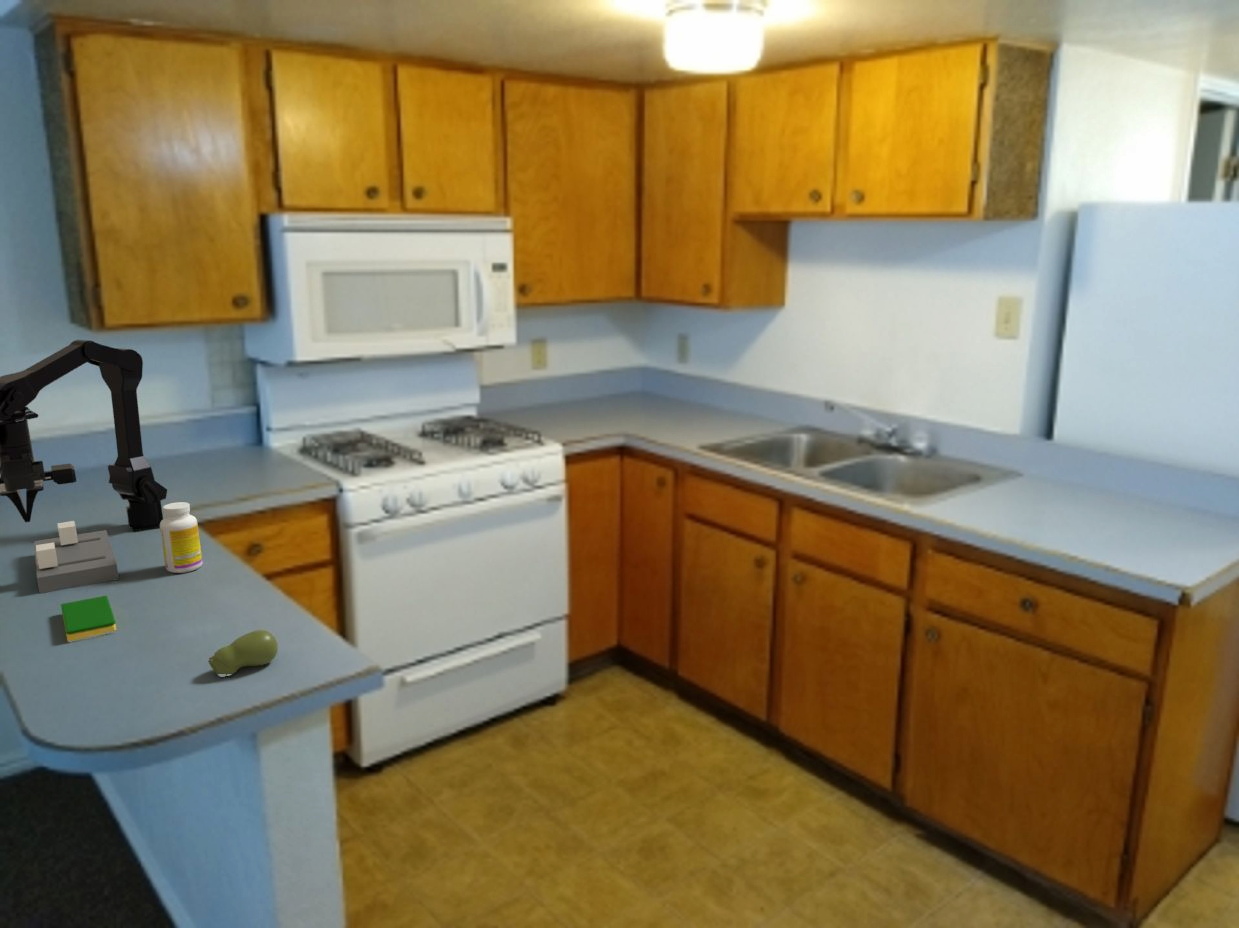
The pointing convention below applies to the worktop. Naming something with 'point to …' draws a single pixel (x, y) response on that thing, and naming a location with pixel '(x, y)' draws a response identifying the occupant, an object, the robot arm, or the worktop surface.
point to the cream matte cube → (67, 532)
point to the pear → (245, 652)
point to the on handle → (46, 555)
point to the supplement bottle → (180, 539)
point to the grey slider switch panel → (78, 563)
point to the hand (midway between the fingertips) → (27, 521)
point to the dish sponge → (88, 618)
